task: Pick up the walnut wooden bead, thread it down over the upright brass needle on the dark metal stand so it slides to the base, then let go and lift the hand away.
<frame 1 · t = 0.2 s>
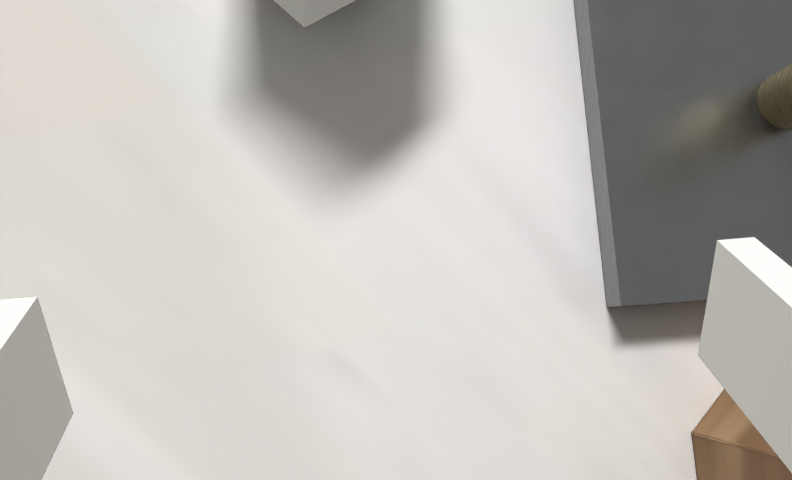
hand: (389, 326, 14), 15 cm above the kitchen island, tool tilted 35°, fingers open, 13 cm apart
bead: (789, 465, 30), on the kitchen island
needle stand: (763, 112, 32), on the kitchen island
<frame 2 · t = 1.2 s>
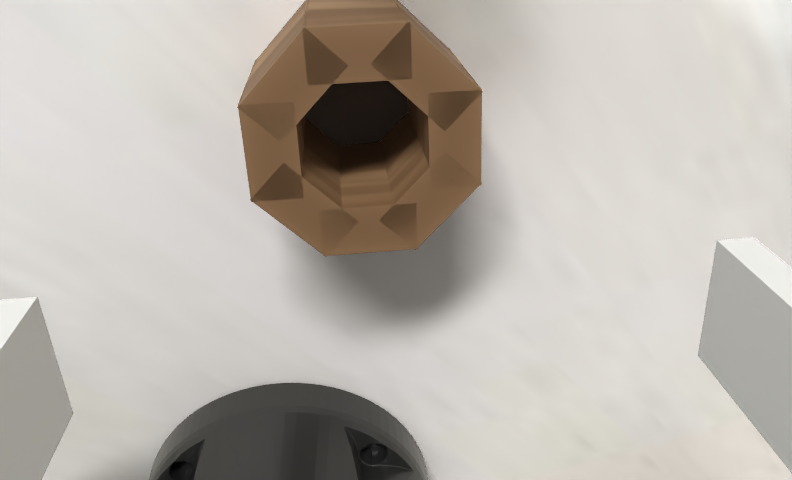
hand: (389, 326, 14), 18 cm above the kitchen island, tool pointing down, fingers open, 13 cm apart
bead: (355, 94, 31), on the kitchen island
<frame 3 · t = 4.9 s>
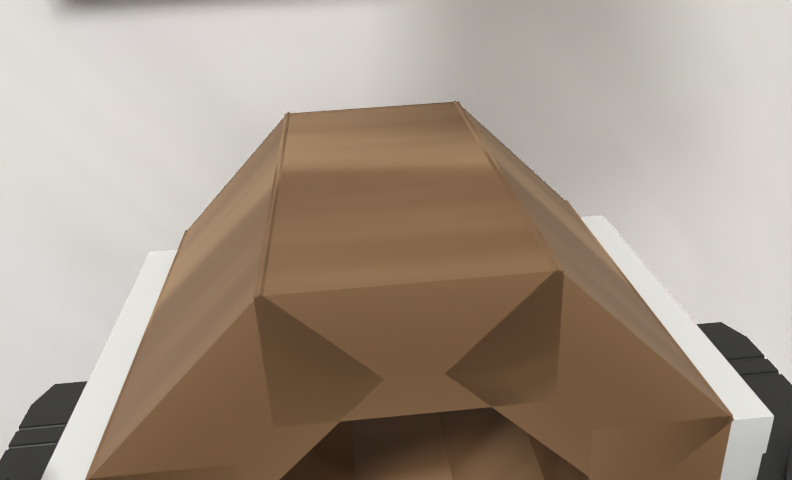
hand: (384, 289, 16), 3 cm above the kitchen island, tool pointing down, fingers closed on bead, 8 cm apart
bead: (383, 285, 16), point 3 cm above the kitchen island, touching gripper
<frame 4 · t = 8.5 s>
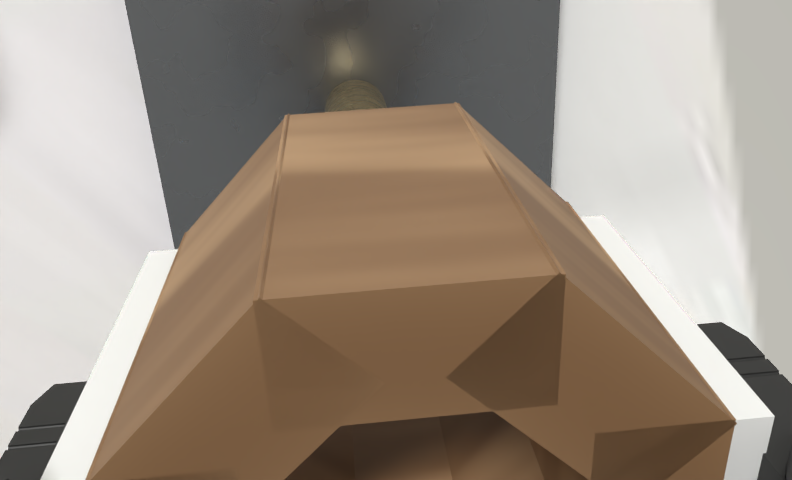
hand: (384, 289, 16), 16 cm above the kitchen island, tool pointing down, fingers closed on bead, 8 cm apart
bead: (383, 287, 16), point 16 cm above the kitchen island, touching gripper
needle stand: (354, 100, 30), on the kitchen island
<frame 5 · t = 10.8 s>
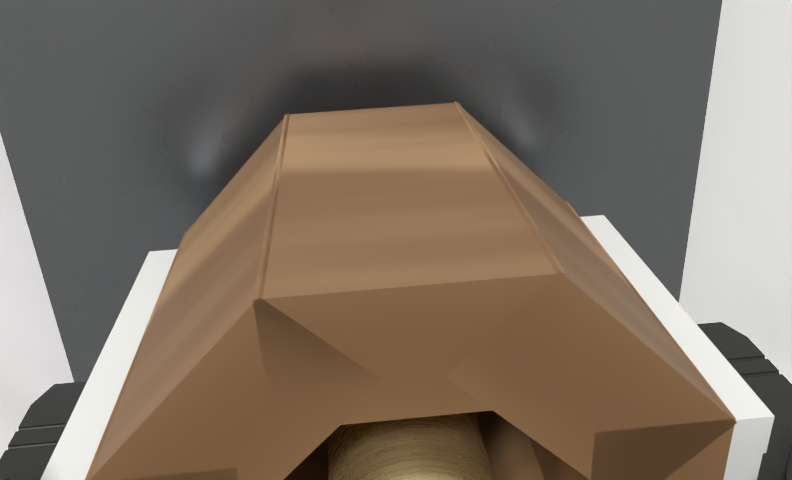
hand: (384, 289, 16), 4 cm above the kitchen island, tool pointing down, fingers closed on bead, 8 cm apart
bead: (383, 287, 16), point 4 cm above the kitchen island, touching gripper
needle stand: (371, 219, 19), on the kitchen island
when the fingers open (3 cm above the kitchen island, at t = 12.4 s): bead stays where it is, resting on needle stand.
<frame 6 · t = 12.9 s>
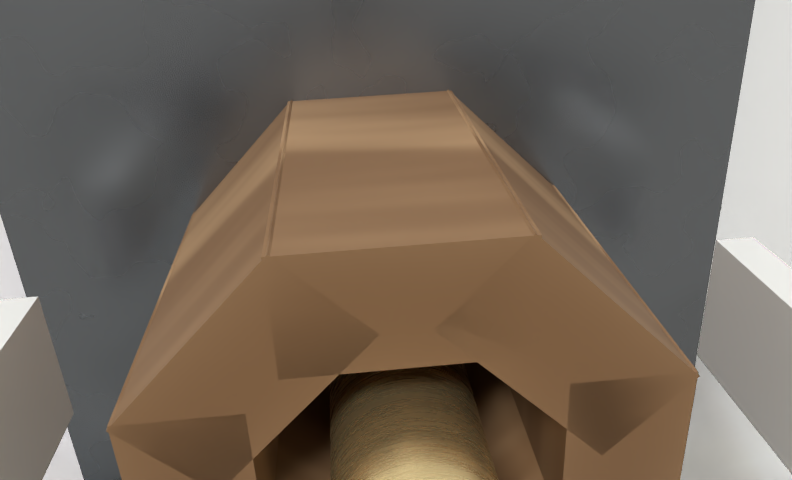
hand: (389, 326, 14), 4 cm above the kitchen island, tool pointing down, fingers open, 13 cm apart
bead: (380, 266, 17), point 1 cm above the kitchen island, touching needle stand
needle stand: (376, 234, 18), on the kitchen island
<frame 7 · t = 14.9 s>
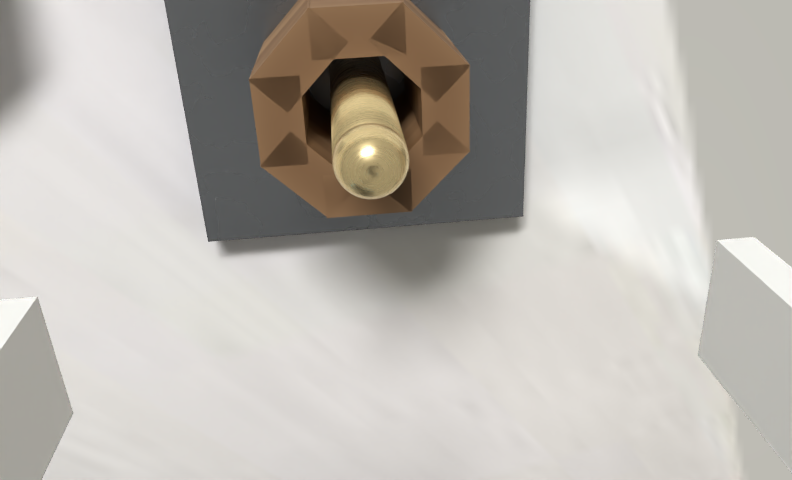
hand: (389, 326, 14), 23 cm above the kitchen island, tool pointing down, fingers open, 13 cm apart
bead: (356, 73, 33), point 1 cm above the kitchen island, touching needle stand
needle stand: (354, 64, 35), on the kitchen island
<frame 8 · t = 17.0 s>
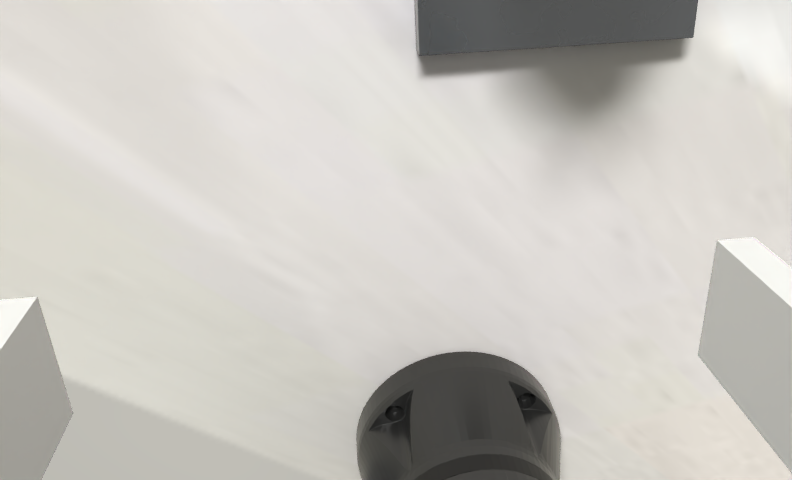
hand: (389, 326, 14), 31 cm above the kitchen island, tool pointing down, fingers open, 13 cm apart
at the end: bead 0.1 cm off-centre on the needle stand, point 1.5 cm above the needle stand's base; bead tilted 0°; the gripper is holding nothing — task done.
